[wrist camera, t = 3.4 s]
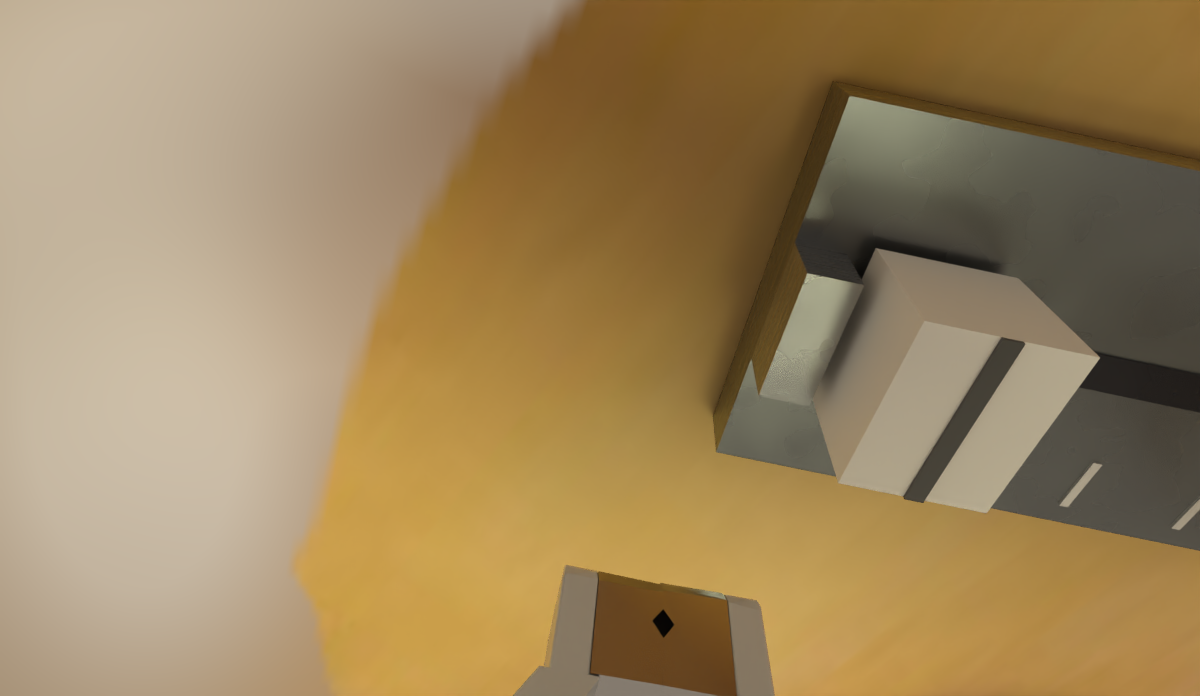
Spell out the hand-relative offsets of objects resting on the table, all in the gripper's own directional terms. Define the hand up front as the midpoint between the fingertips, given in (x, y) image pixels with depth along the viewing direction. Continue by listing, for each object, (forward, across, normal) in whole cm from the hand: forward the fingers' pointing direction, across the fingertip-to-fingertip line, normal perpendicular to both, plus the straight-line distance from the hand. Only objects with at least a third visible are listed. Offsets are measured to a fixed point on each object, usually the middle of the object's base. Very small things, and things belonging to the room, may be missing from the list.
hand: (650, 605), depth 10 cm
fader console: (+13, -16, 0) cm, 20 cm away
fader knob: (+10, -8, 0) cm, 13 cm away
